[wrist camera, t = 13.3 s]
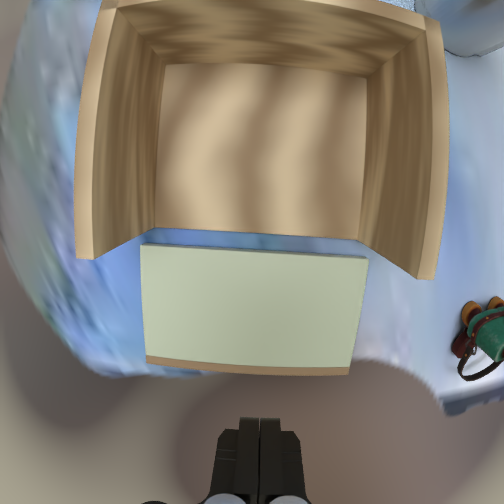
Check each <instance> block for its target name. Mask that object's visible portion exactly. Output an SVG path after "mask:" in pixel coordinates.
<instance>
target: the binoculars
mask: <svg viewBox="0 0 504 504" xmlns="http://www.w3.org/2000/svg"><path fill="white" fill-rule="evenodd" d="M462 320H463V322H464V324H465V325H466V326H467V327H465V329H464V332H462V333H461V334H460V335H459V337H458V338H457V339H456V341H455V342H454V344H453V346H452V352H453V353H454V354H455V355H456V356H457V358H461V360H460V362H459V364H458V367H457V369H458V373H459V375H460V376H461V377H462V378H463V379H464V380H466V381H475V380H477V379H479V378H482V377H484V376H485V375H487V374H489V373H490V372H492V371H493V370H494V369H496V368H497V367H498V366H499V365H500V364H501V363H502V362H503V361H504V301H503V300H502V299H501V298H499V297H497V296H496V297H494V298H493V299H492V300H491V301H490V303H489V306H488V310H486V311H484V312H482V309H481V307H480V306H479V305H478V304H477V303H476V302H474V301H470V302H468V303H467V304H466V305H465V307H464V308H463V311H462ZM477 345H478V346H479V347H480V348H481V350H483V351H484V352H485V353H486V354H487V355H488V356H489V357H490V358H491V359H492V360H494V362H493V363H492V364H491V365H490V366H488V367H487V368H485V369H484V370H482V371H480V372H478V373H475V374H473V375H468V376H463V375H462V370H463V368H464V365H465V364H466V362H467V360H468V359H469V357H470V356H471V355H475V354H476V351H477ZM474 347H475V352H474V350H473V348H474ZM473 352H474V353H473Z"/></svg>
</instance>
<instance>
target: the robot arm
mask: <svg viewBox="0 0 504 504" xmlns="http://www.w3.org/2000/svg"><path fill="white" fill-rule="evenodd" d="M415 9H416V13H419V14H421V15H424V16H426V17H429V18H432V19H434V20H436V21H439V22H440V27H441V33H442V39H443V46H444V49H446V50H448V51H449V52H451V53H453V54H455V55H458V56H462V57H469V56H472V55H474V54H476V55H479V56H483V55H485V54H488V53H490V52H492V51H495V50H497V49H499V48H502V47H504V0H415ZM300 448H301V447H300V441H299V439H298V438H297V436H296V435H295V433H294V432H293V431H281V428H280V418H261V419H260V430H259V418H250V417H240V423H239V430H234V429H225V430H224V431H223V433H222V434H221V435H220V437H219V438H218V443H217V451H216V456H215V462H214V468H213V474H212V481H211V487H210V492H209V494H208V496H207V497H206V499H205V500H203V501H202V502H201V503H199V504H311V502H310V501H309V500H308V499H307V496H306V493H305V483H304V474H303V465H302V457H301V449H300ZM256 502H257V503H256ZM143 504H166V503H163V502H160V501H148V502H145V503H143Z"/></svg>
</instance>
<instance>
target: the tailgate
mask: <svg viewBox="0 0 504 504" xmlns="http://www.w3.org/2000/svg"><path fill="white" fill-rule="evenodd" d="M140 262H141V293H142V311H143V326H144V339H145V350H146V363H149V364H156V365H163V366H170V367H178V368H186V369H195V370H205V371H216V372H228V373H243V374H262V375H301V376H302V375H303V376H304V375H305V376H308V375H309V376H313V375H314V376H318V375H348V372H349V368H350V367H349V366H350V362H351V358H352V353H353V349H354V344H355V339H356V334H357V330H358V324H359V319H360V314H361V308H362V303H363V297H364V291H365V285H366V278H367V271H368V264H369V259H368V258H366V257H364V256H349V255H333V254H317V253H301V252H285V251H269V250H253V249H237V248H221V247H204V246H188V245H171V244H154V243H144V244H142V245H140Z"/></svg>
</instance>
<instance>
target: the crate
mask: <svg viewBox="0 0 504 504" xmlns="http://www.w3.org/2000/svg"><path fill="white" fill-rule="evenodd" d="M448 168H449V98H448V83H447V72H446V62H445V54H444V46H443V39H442V33H441V27H440V22H439V21H436V20H434V19H432V18H429V17H426V16H424V15H421V14H419V13H416V12H413V11H410V10H407V9H404V8H401V7H398V6H395V5H392V4H389V3H385V2H382V1H378V0H102V3H101V6H100V10H99V13H98V17H97V20H96V24H95V28H94V32H93V36H92V40H91V45H90V49H89V54H88V59H87V64H86V69H85V74H84V80H83V86H82V93H81V100H80V108H79V116H78V125H77V136H76V150H75V169H74V227H75V246H76V258H81V259H92V260H94V259H96V258H98V257H99V256H101V255H103V254H105V253H107V252H109V251H110V250H112V249H114V248H116V247H118V246H120V245H122V244H123V243H125V242H127V241H129V240H131V239H133V238H135V237H137V236H139V235H141V234H143V233H144V232H146V231H148V230H150V229H152V228H154V227H160V228H180V229H199V230H218V231H235V232H251V233H267V234H282V235H297V236H312V237H325V238H339V239H352V240H358V241H360V242H361V243H363V244H364V245H366V246H368V247H369V248H371V249H372V250H374V251H375V252H377V253H378V254H380V255H382V256H383V257H385V258H386V259H388V260H389V261H391V262H392V263H394V264H395V265H397V266H398V267H400V268H401V269H403V270H404V271H406V272H407V273H409V274H410V275H412V276H413V277H414V278H416V279H423V280H434V276H435V271H436V266H437V261H438V255H439V249H440V243H441V237H442V230H443V223H444V215H445V206H446V196H447V184H448Z"/></svg>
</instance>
